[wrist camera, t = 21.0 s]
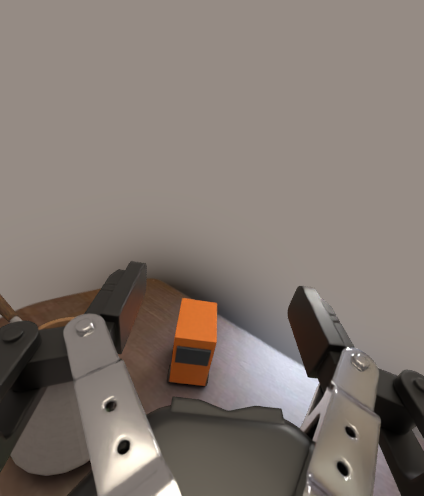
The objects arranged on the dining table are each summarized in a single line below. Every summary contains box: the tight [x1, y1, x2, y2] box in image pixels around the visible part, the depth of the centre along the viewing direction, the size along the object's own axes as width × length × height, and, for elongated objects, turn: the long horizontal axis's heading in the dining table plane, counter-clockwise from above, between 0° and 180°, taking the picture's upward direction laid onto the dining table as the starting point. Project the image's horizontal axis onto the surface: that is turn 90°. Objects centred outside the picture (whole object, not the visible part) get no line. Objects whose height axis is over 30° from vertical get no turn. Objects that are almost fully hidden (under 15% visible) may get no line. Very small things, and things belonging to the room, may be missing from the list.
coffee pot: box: [0, 295, 90, 476], centre depth 24 cm, size 21×12×15 cm, turn 63°
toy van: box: [167, 298, 217, 386], centre depth 31 cm, size 7×5×10 cm
